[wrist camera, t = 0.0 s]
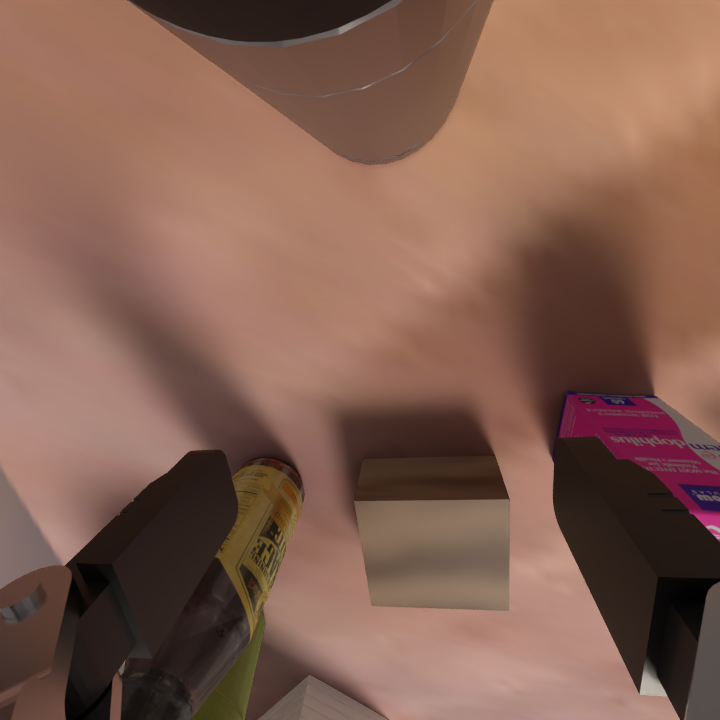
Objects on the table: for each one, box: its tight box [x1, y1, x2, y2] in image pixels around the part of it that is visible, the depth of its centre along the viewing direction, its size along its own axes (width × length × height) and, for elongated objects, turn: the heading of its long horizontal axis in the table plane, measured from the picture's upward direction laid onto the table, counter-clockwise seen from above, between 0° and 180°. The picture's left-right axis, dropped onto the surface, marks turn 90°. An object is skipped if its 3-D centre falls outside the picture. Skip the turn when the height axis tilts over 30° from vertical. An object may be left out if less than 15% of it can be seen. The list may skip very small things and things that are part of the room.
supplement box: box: [552, 392, 720, 541], centre depth 21 cm, size 6×6×12 cm
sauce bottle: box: [121, 458, 305, 720], centre depth 23 cm, size 6×6×20 cm
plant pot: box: [191, 610, 265, 720], centre depth 34 cm, size 12×12×11 cm
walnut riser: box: [354, 455, 510, 611], centre depth 29 cm, size 10×10×5 cm
